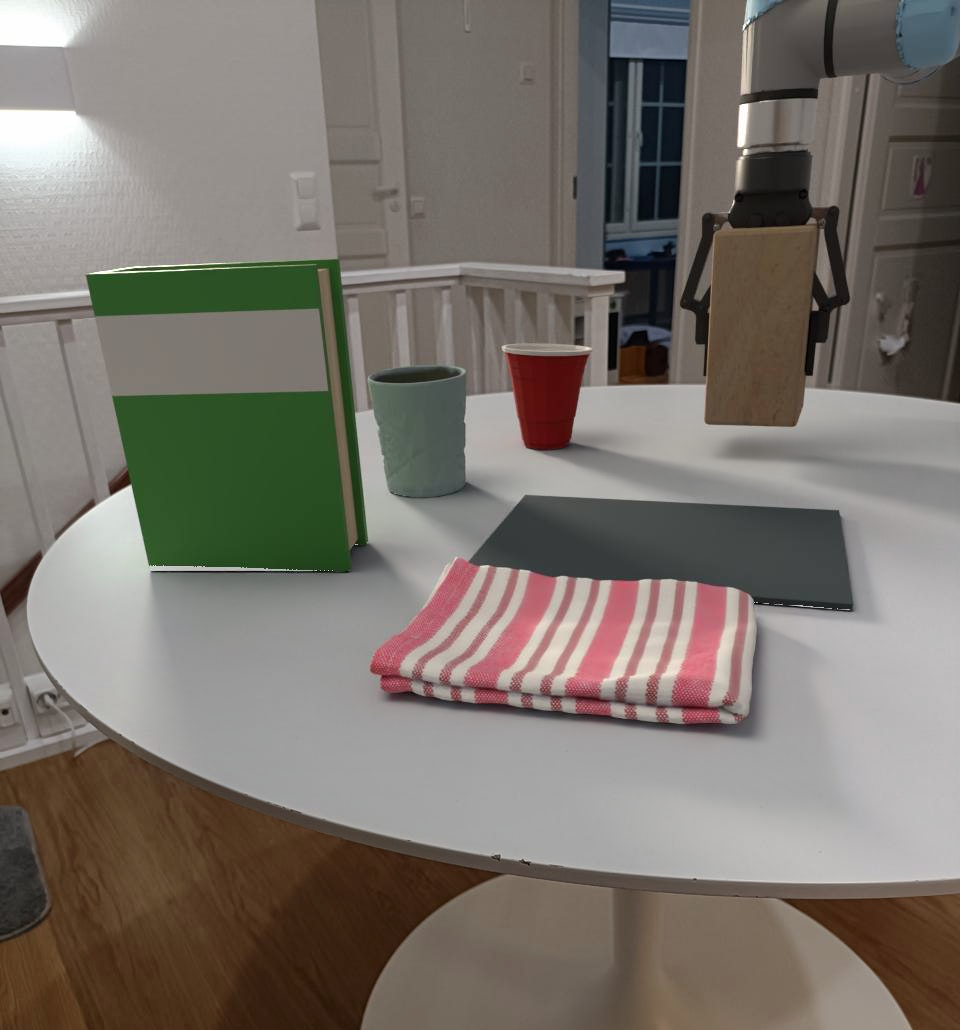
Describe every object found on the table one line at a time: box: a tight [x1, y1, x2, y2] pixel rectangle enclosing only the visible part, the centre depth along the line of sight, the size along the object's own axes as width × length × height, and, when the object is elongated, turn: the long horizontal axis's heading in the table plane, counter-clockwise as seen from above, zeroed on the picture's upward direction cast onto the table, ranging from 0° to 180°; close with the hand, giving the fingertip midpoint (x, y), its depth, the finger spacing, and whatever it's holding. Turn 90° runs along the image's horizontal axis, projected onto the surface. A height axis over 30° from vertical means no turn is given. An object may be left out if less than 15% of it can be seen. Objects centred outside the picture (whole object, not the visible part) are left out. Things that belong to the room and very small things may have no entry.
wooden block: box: [703, 222, 821, 428], centre depth 100 cm, size 10×10×20 cm
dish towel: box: [369, 556, 758, 725], centre depth 60 cm, size 17×23×4 cm
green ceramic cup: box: [367, 364, 468, 498], centre depth 96 cm, size 10×10×12 cm
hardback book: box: [85, 257, 369, 572], centre depth 76 cm, size 18×7×24 cm, turn 84°
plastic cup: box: [501, 343, 594, 451], centre depth 111 cm, size 11×11×12 cm
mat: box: [467, 494, 854, 611], centre depth 79 cm, size 30×22×1 cm
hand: (757, 374), depth 102 cm, fingers closed on wooden block, 10 cm apart
